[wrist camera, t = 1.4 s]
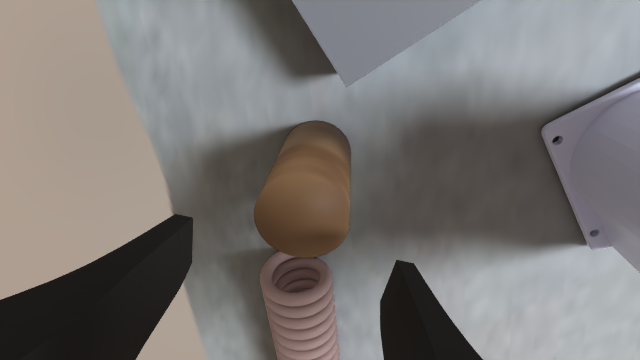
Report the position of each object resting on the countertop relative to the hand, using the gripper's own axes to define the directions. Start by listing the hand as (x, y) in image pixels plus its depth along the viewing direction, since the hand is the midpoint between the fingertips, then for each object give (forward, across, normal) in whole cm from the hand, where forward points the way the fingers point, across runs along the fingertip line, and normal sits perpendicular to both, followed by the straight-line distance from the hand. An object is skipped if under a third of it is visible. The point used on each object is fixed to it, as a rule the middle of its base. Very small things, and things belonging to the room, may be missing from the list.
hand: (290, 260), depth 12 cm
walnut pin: (+10, 0, 0) cm, 10 cm away
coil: (+10, -3, +16) cm, 19 cm away
